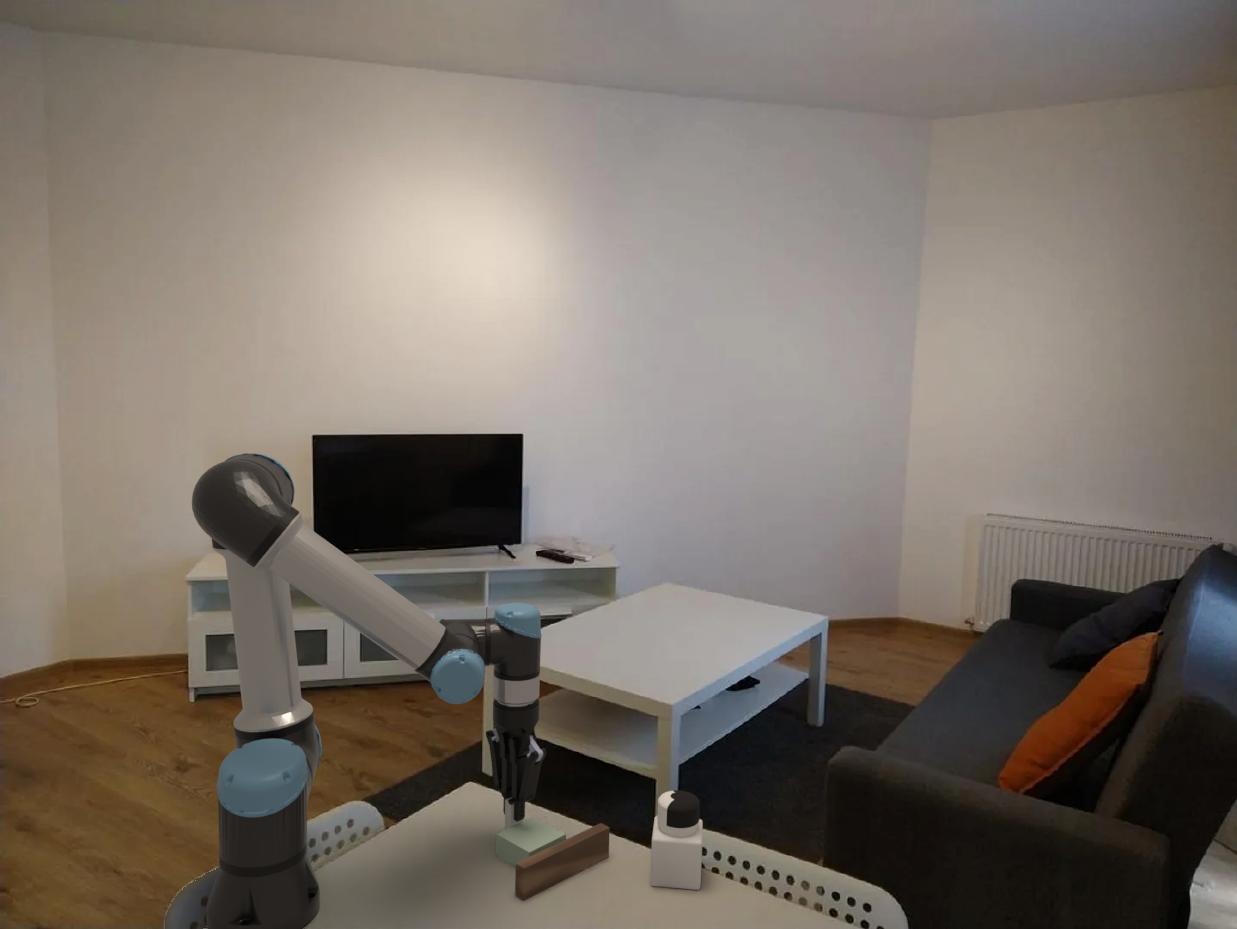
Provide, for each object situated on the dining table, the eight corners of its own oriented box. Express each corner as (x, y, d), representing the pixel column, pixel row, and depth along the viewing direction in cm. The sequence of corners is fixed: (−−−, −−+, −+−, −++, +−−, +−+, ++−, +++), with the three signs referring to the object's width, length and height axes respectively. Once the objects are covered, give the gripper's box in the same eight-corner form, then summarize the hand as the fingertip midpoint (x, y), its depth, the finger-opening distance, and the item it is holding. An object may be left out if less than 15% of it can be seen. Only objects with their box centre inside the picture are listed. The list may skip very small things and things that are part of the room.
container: (700, 864, 146) (704, 787, 144) (700, 891, 138) (703, 810, 137) (652, 860, 147) (655, 783, 145) (649, 886, 139) (652, 806, 138)
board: (515, 895, 136) (515, 863, 135) (600, 852, 148) (601, 823, 148) (523, 900, 134) (524, 868, 134) (608, 856, 147) (609, 827, 147)
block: (495, 857, 146) (496, 833, 146) (532, 839, 152) (532, 817, 152) (528, 876, 141) (529, 852, 140) (565, 857, 147) (566, 834, 146)
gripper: (560, 704, 146) (556, 843, 148) (508, 683, 155) (506, 814, 157) (524, 715, 140) (521, 859, 143) (473, 693, 149) (471, 829, 152)
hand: (513, 836), depth 150 cm, fingers closed
